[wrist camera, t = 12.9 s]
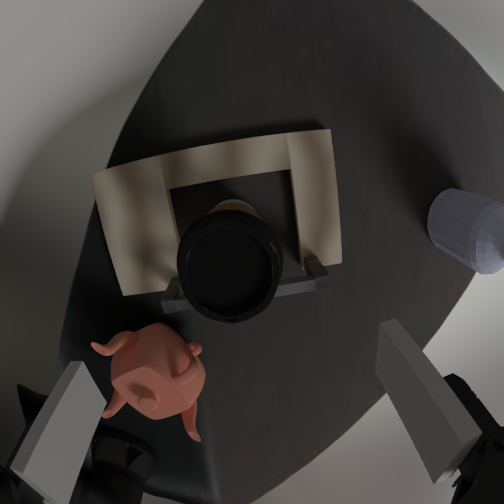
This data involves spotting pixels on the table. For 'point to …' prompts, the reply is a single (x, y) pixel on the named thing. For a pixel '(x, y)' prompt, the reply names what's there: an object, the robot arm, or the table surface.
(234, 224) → the coffee cup
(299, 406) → the table surface
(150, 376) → the teapot
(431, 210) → the spray bottle
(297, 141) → the cream rectangular frame
